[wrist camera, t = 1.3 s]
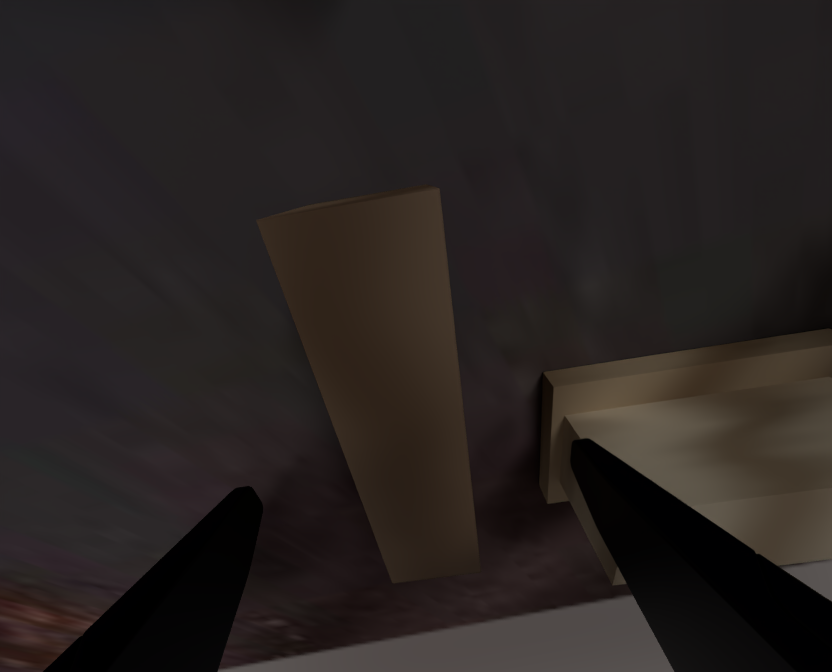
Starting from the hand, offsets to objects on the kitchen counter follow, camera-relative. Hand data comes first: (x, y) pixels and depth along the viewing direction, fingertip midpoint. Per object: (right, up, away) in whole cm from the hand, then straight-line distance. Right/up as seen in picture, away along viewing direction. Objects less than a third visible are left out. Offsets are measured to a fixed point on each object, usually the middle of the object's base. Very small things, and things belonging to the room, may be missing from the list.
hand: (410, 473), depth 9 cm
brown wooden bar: (0, +2, +4) cm, 5 cm away
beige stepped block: (+11, 0, +5) cm, 12 cm away
